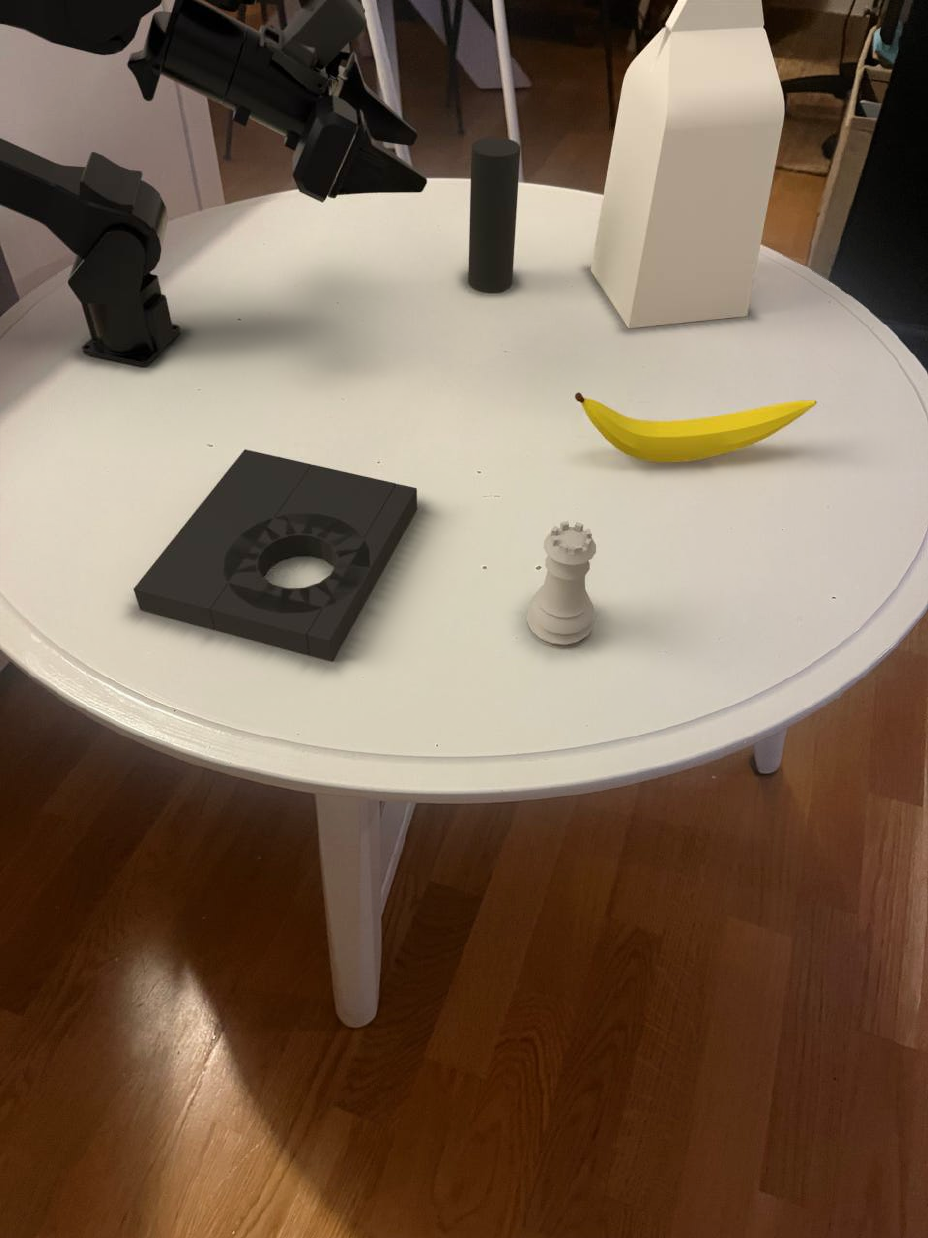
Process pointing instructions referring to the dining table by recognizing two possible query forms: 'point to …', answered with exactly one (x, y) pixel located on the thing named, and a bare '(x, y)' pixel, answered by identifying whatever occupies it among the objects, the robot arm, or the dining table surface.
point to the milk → (691, 168)
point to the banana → (690, 431)
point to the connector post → (493, 213)
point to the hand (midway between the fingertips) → (419, 161)
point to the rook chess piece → (564, 587)
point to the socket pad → (279, 552)
